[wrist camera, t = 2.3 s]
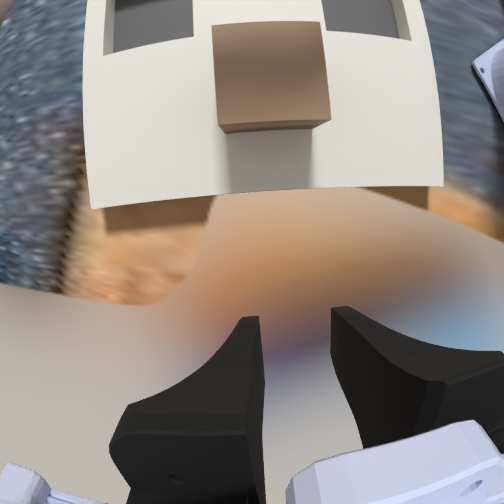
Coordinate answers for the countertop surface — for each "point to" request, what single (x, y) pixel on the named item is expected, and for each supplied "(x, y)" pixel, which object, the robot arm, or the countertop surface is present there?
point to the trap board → (260, 142)
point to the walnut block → (270, 76)
